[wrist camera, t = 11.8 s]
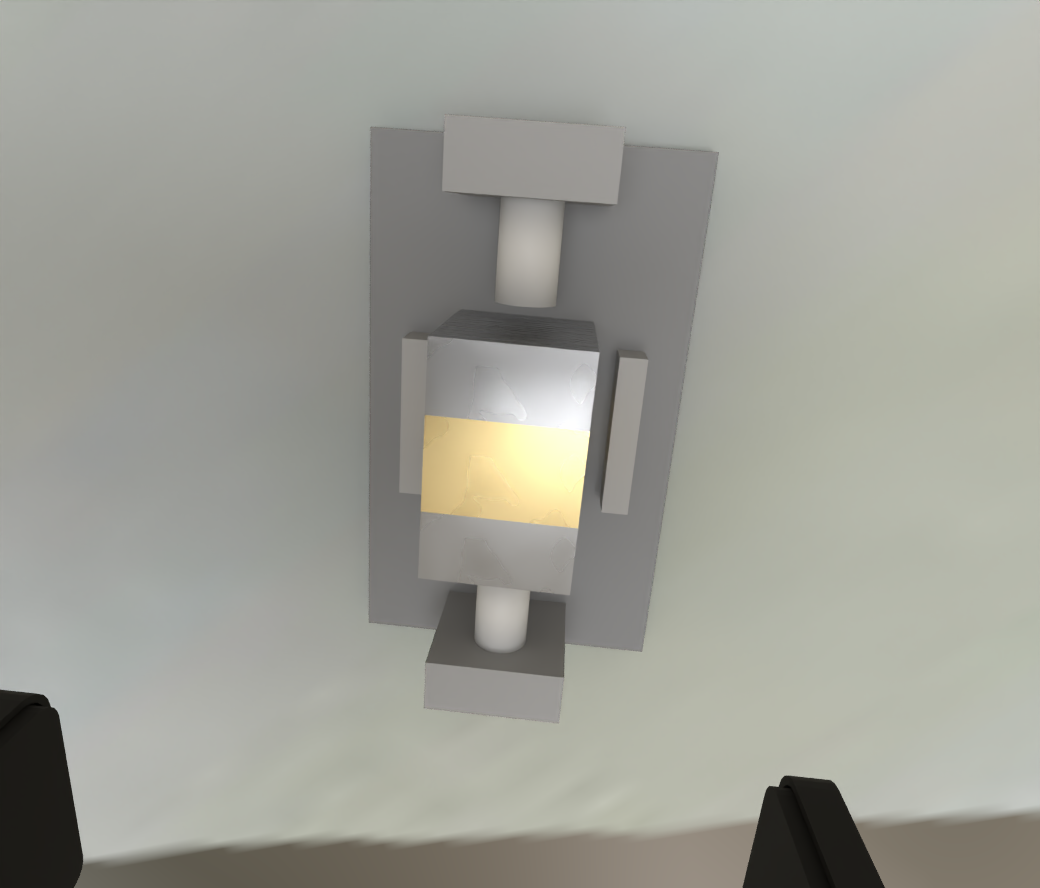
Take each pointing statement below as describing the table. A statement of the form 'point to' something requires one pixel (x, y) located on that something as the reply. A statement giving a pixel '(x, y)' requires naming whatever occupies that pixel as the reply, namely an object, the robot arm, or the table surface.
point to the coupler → (505, 449)
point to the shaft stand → (545, 293)
